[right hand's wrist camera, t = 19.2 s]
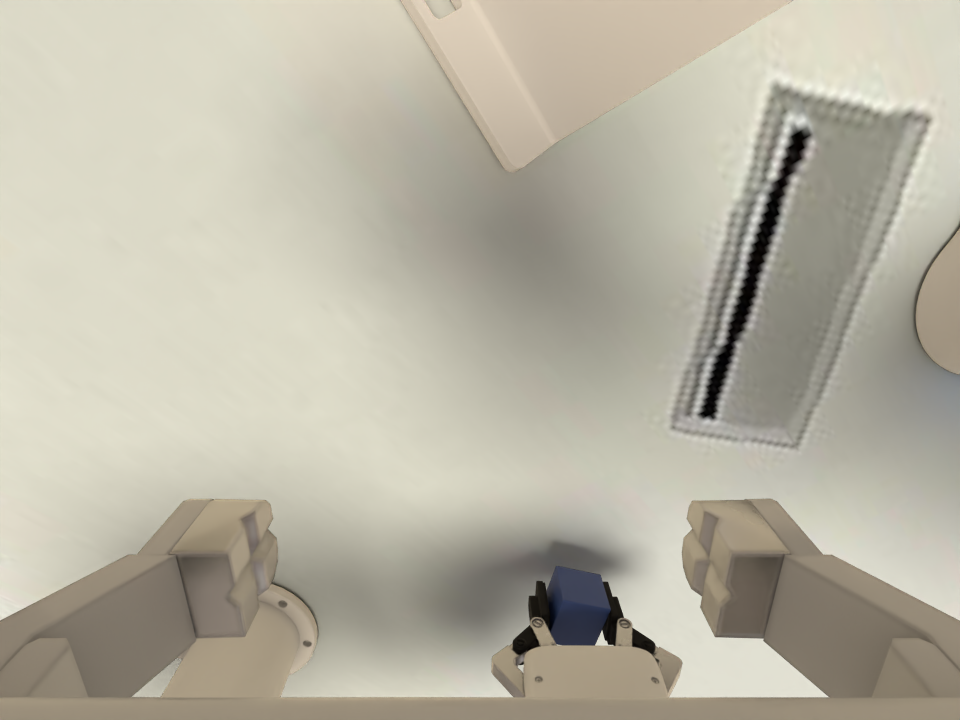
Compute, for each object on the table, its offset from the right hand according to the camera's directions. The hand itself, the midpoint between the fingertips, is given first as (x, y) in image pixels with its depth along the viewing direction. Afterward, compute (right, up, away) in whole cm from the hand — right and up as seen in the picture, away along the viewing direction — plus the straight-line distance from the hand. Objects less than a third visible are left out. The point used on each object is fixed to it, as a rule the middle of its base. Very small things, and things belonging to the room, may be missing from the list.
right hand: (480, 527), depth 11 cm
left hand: (+8, -18, +38) cm, 43 cm away
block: (+8, -18, +38) cm, 43 cm away
